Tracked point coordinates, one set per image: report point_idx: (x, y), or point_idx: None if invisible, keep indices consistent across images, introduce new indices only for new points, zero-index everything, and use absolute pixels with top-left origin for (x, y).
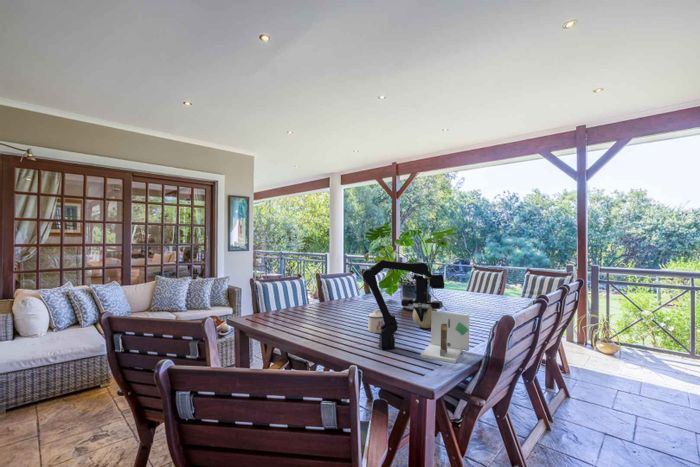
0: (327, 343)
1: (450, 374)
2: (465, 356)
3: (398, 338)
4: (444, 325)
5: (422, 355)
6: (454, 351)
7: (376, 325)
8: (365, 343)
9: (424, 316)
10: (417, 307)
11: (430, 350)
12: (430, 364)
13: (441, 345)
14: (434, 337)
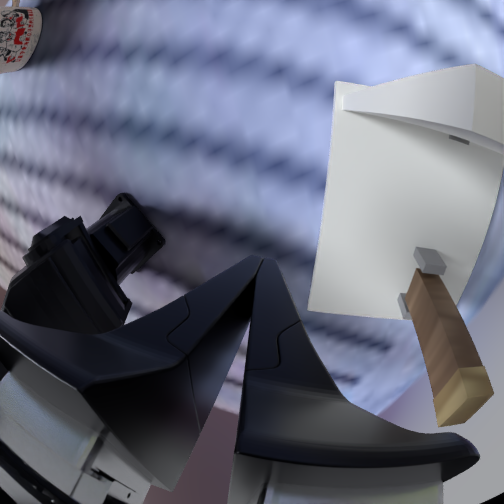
0: (16, 265)
1: (401, 388)
2: (500, 219)
3: (115, 52)
4: (458, 423)
5: (316, 308)
6: (472, 208)
7: (1, 63)
8: (55, 217)
9: (291, 306)
10: (145, 478)
11: (352, 237)
12: (351, 353)
13: (416, 322)
14: (378, 115)
